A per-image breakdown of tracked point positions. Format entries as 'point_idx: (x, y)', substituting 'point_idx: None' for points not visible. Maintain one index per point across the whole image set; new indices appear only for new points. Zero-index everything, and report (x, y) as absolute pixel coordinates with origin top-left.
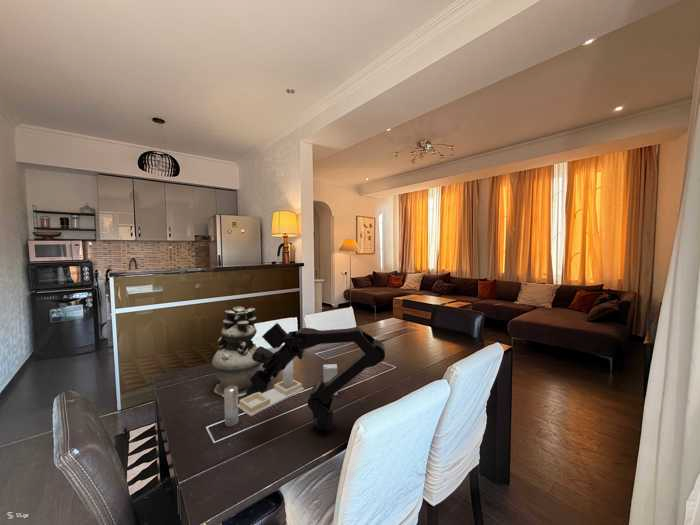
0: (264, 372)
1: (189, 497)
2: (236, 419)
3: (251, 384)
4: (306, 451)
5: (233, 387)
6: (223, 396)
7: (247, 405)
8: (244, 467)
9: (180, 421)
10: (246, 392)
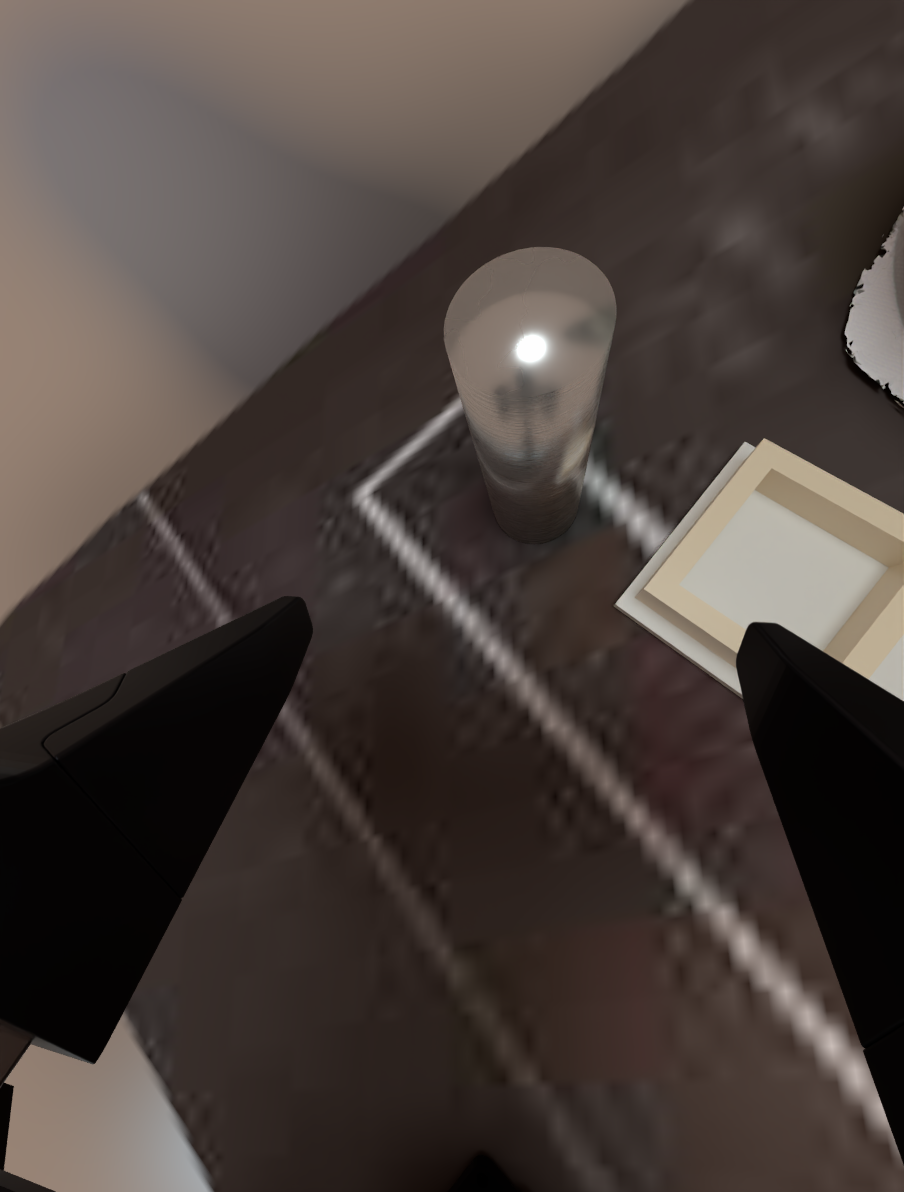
0: (898, 820)
1: (68, 567)
2: (518, 532)
3: (14, 728)
4: (257, 1110)
5: (558, 335)
6: (867, 277)
7: (684, 543)
8: None
9: (531, 212)
10: (276, 604)
